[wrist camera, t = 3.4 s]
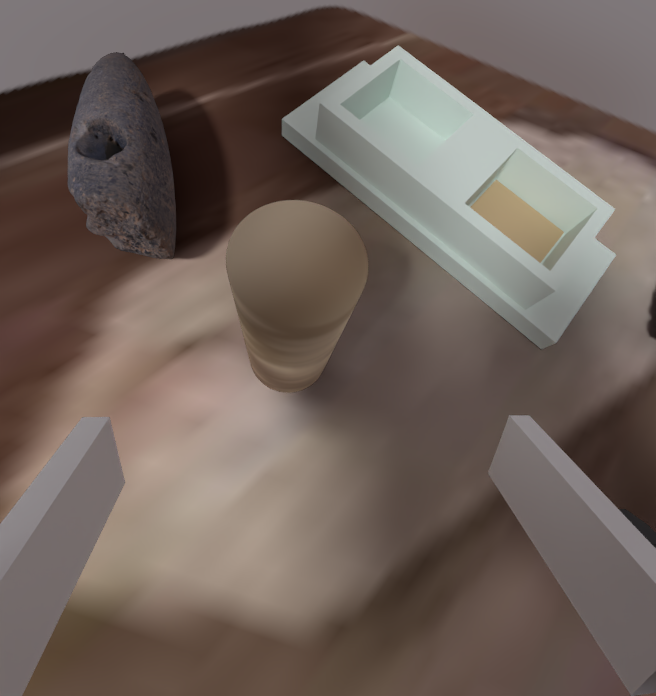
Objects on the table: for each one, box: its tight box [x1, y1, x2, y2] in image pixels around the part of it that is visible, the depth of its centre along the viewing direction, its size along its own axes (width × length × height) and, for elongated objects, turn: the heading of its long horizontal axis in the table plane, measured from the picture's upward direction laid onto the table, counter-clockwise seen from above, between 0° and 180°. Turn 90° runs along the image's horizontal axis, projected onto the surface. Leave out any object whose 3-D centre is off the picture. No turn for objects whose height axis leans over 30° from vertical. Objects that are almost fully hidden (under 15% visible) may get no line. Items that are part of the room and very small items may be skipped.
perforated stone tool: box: [68, 52, 176, 259], centre depth 23 cm, size 15×5×7 cm, turn 10°
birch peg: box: [226, 200, 369, 393], centre depth 19 cm, size 5×5×12 cm
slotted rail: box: [282, 46, 616, 349], centre depth 28 cm, size 26×10×4 cm, turn 49°
